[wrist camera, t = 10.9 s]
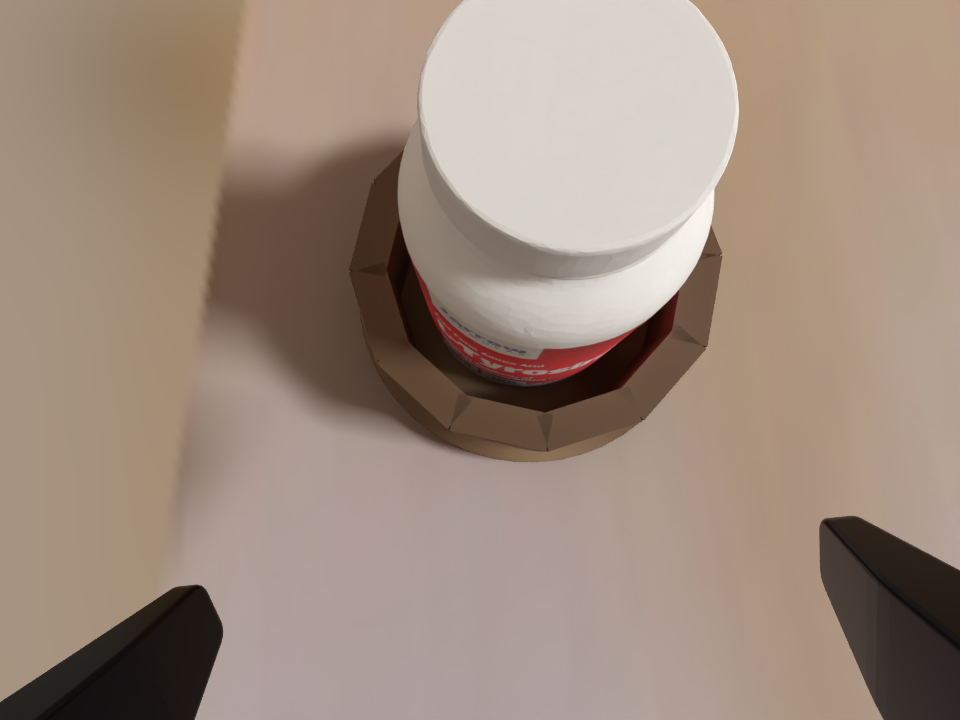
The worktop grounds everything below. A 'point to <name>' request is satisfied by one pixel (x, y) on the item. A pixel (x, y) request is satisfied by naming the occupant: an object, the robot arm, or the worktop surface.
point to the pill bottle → (562, 175)
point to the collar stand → (502, 408)
